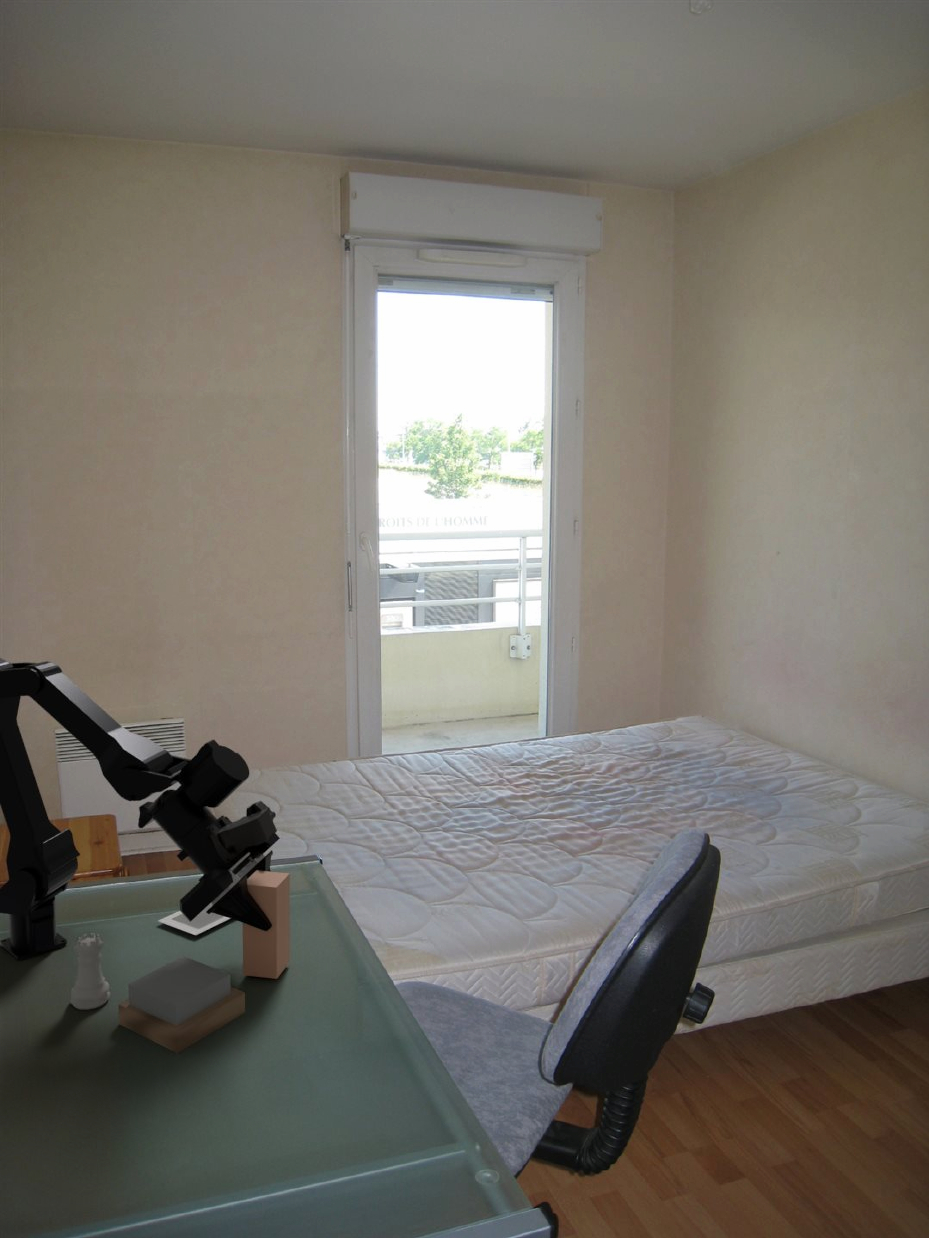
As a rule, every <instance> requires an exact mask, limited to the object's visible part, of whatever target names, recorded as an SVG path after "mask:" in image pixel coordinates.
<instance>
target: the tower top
mask: <svg viewBox="0 0 929 1238" xmlns="http://www.w3.org/2000/svg"><path fill="white" fill-rule="evenodd" d="M230 987H231V974H230V973H227V972H225V971H223V970H221V969H218V968H216V967H213V966H211V965H208V964H205V963H203V962H199V961H197V960H194V959H193V958H189V957H187V956H185V955H182V956H180V957H179V958H178V957H177V958H176V959H174V960H172V961H171V962H169V963H167V964H165V965H163V966H160V967H159V968H157V969H155V970H153V971H151V972H149V973H148V974H145V975H144V976H141V977H139V978H137V979H136V980H133V981H132V982H129V983H128V987H127V988H128V989H127V990H128V999H129V1005H131V1006H133V1007H135V1008H137V1009H140V1010H142V1011H144V1012H146V1013H148V1014H151V1015H153V1016H155V1017H157V1018H159V1019H162V1020H164V1021H166V1022H168V1023H171V1024H173V1025H175V1026H178V1025H180V1024H181V1023H183V1022H185V1021H186V1020H188V1019H190V1018H191V1017H193V1016H195V1015H197V1014H198V1013H200V1012H202V1011H203V1010H205V1009H207V1008H208V1007H210V1006H212V1005H213V1004H215V1003H217V1002H219V1001H220V1000H222V999H224V998H225V997H227V996H229V995H230V994H231V991H230Z"/></svg>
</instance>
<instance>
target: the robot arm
mask: <svg viewBox="0 0 929 1238" xmlns="http://www.w3.org/2000/svg"><path fill="white" fill-rule="evenodd" d="M21 697H29V698H30V699H31V700H33V701H34V702H35V703H36V704H37V705H38V706H39V707H41V708H42V710H44V711H45V712H46V713H47V714H48V715H49V716H51V718H53V719H54V720H55V721H56V722H57V723H58V724H59V725H60V726H62V727H63V728H64V729H65V730H66V731H67V732H68V733H69V734H70V735H72V737H74V738H75V739H76V740H77V741H78V742H79V743H80V744H82V745H83V747H85V748H86V749H87V750H88V751H89V752H90V753H91V754H92V755H93V757H94V758H95V759H96V761H98V764H99V766H100V770H101V774H102V776H103V778H105V780H106V781H107V782H108V784H109V785H110V786H111V787H112V789H113V790H114V792H115V793H116V794H117V795H118V796H119V797H120V798H122V800H123V799H124V800H125V801H128V802H139V801H140V802H141V801H143V800H145V799H147V798H149V797H150V796H151V797H152V796H153V795H154V794H156V793H161V794H160V795H159V796H158V797H157V798H155V800H154V801H147V802H144V803H143V804H142V805H140V806H139V807H138V811H139V817H138V823H137V827H138V828H139V829H144V828H145V827H146V826H148V825H149V824H151V823H153V822H155V823H156V824H157V825H158V826H159V827H160V828H161V829H162V830H163V832H164V833H165V834H166V835H167V836H168V837H169V838H170V840H171V841H172V842H173V843H174V844H175V845H176V846H177V848H179V849H180V852H179V853H178V854H177V855H176V857H177V858H178V859H179V860H180V861H181V862H183V861H184V860H186V859H188V860H190V861H191V863H192V864H193V865H194V866H195V867H196V869H198V870H199V872H200V873H201V874H202V876H201V877H200V878H199V879H198V881H199V882H197V884H196V885H194V886H193V887H192V888H191V889H190V890H189V891H188V892H186V894H185V895H184V896H182V898H180V900H179V911H181V912H182V913H183V915H184V916H185V917H186V918H187V919H188V920H189V921H190V922H191V921H192V920H193V919H194V918H195V917H196V916H197V915H198V914H199V913H200V912H202V911H203V910H204V909H205V908H206V907H207V906H208V905H209V904H210V903H212V905H213V906H212V907H210V908H209V909H208V910H207V911H206V913H207V914H210V913H215V914H218V915H221V916H225V917H228V918H230V919H232V920H234V921H237V922H240V923H242V924H243V923H245V924H248V925H250V926H253V927H255V928H258V929H261V930H263V931H268V930H269V929H270V928H271V927H272V924H271V922H270V920H269V919H268V917H267V916H266V914H265V913H264V912H263V910H262V909H261V908H260V907H259V905H258V904H257V903H256V901H255V900H254V899H253V897H252V896H251V895H250V893H249V892H248V887H247V879H248V878H249V877H250V876H251V875H252V874H253V873H254V872H255V871H256V870H259V871H269V872H272V871H271V862H272V861H271V860H272V856H273V854H274V851H273V850H272V849H271V850H270V851H268V850H269V849H270V848H272V846H274V844H276V843H277V842H278V841H279V840H280V839H281V837H279V835H278V834H276V833H277V832H278V829H277V827H276V825H275V822H274V819H275V817H276V815H277V813H276V812H275V811H273V810H271V808H270V806H268V805H266V804H265V803H264V802H263V801H262V800H259V801H257V802H254V803H251V805H249V806H248V807H247V808H246V810H245V811H246V814H245V816H242V817H241V818H240V819H237V820H235V821H232V820H230V818H229V817H228V816H226V815H221V816H220V817H219V818H217V817H216V816H215V814H213V813H212V811H211V810H209V808H210V809H211V808H212V809H214V808H218V807H219V806H220V805H221V804H223V803H224V802H225V801H226V799H228V798H229V797H230V796H231V795H232V794H233V793H234V792H235V791H236V790H238V788H240V787H241V785H242V784H244V783H245V782H246V781H247V779H248V778H249V777H250V774H251V773H250V768H249V766H248V764H247V762H246V760H245V759H244V758H243V756H242V755H241V754H240V753H239V752H235V751H234V750H233V749H231V748H229V747H227V746H224V745H220V744H219V743H218V742H217V741H216V739H210V740H208V741H207V742H205V743H204V744H203V745H202V746H201V747H200V748H199V750H198V752H197V753H196V754H195V755H194V756H193V757H192V758H186V757H180V756H178V755H173V754H171V753H170V752H169V751H168V750H166V749H165V748H164V747H162V746H161V745H159V744H158V743H156V742H154V741H153V740H151V739H150V738H148V737H145V736H142V735H140V734H137V733H134V732H131V731H129V730H127V729H126V728H125V727H123V726H122V725H121V724H120V723H119V722H118V721H116V720H115V719H114V718H113V717H112V716H110V714H109V713H107V712H106V711H105V710H104V709H103V708H102V707H101V706H100V705H99V704H97V703H96V702H95V701H94V700H93V699H92V698H91V697H89V695H88V694H86V692H85V691H84V690H82V689H81V688H79V686H78V685H77V684H76V683H74V681H72V680H71V679H70V678H69V677H68V676H67V675H65V674H64V673H63V670H62V668H61V667H60V666H59V665H58V664H56V663H55V662H52V661H49V660H48V661H47V660H46V661H42V662H41V661H40V662H29V661H26V662H8V661H7V660H6V659H3V658H1V657H0V809H1V811H2V814H3V817H4V821H5V824H6V828H7V830H8V833H9V842H8V847H7V853H6V858H5V865H6V871H7V877H8V880H7V881H6V882H5V883H4V884H3V885H2V886H1V887H0V914H5V915H8V923H9V925H8V931H9V937H6V938H4V939H2V940H0V946H1V947H2V948H3V949H4V950H6V951H7V952H8V953H9V954H10V955H12V956H13V957H14V959H16V960H19V961H21V960H24V959H27V958H30V957H33V956H36V955H39V954H42V953H46V952H48V951H51V950H54V949H56V948H60V947H63V946H66V945H67V944H68V940H67V938H66V937H63V935H61V934H59V933H58V932H57V911H56V909H57V908H56V896H58V895H59V894H61V893H63V892H65V891H66V890H67V889H68V888H67V887H68V885H69V883H70V881H71V880H72V879H73V878H74V877H75V874H76V872H77V870H78V869H79V862H78V858H79V857H80V856H81V853H80V851H79V850H78V849H77V848H76V845H75V842H74V837H73V832H72V830H71V829H70V828H66V829H64V830H62V831H61V830H60V829H59V828H57V827H56V826H55V825H54V824H53V823H52V822H51V821H50V818H49V816H48V813H47V812H48V811H47V810H46V807H45V803H44V800H43V797H42V794H41V792H40V788H39V786H38V785H39V784H38V782H37V779H36V776H35V773H34V769H33V767H32V763H31V761H30V758H29V755H28V752H27V749H26V745H25V742H24V739H23V736H22V732H21V730H20V726H19V724H18V714H19V709H20V702H21ZM177 783H178V784H179V785H180V786H179V787H177V788H176V789H169V788H170V787H172V786H174V785H175V784H177ZM267 851H268V853H267V854H266V855H265V853H266V852H267Z"/></svg>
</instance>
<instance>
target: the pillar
mask: <svg viewBox="0 0 929 1238" xmlns="http://www.w3.org/2000/svg"><path fill="white" fill-rule="evenodd" d="M290 876H291V875H290V872H288V873H287V872H277V871H271V872H269V871H259V870H256V871H255V872H254V873H253V874H252V875H251V876H250V877H249V878H248V879H247V887H248V892H249V893H250V895H251V896H252V897H253V899H254V900H255V901H256V903H257V904H258V905H259V907H260V908H261V909H262V910H263V912H264V913H265V914H266V916H267V917H268V919H269V920H270V922H271V924H272V927H271V928H270V929H269V930H268V931H263V930H261V929H258V928H255V927H253V926H250V925H248V924H245V923H242V975H243V976H250V977H257V978H266V979H275V980H277V979H278V978H279V977H280V975H281V974H282V973H283V971H284V970H285V969H286V967H287V966H288V965H289V963H290V961H291V957H290V956H291V954H290V953H291V950H290V949H291V944H290V943H291V934H290V933H291V932H290V931H291V930H290V929H291V928H290V927H291V925H290V924H291V923H290V922H291V921H290V916H291V914H290V912H291V909H290V908H291V905H290V902H291V901H290V900H291V899H290V897H291V896H290V895H291V893H290V892H291V891H290V887H291V886H290V882H291V881H290V880H291V879H290V878H291V877H290Z"/></svg>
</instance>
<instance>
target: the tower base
mask: <svg viewBox="0 0 929 1238" xmlns="http://www.w3.org/2000/svg"><path fill="white" fill-rule="evenodd" d="M230 991H231V994H230V995H229V996H227V997H225V998H224V999H222V1000H220V1001H219V1002H217V1003H215V1004H213V1005H212V1006H210V1007H208V1008H207V1009H205V1010H203V1011H202V1012H200V1013H198V1014H197V1015H195V1016H193V1017H191V1018H190V1019H188V1020H186V1021H185V1022H183V1023H181V1024H180V1025H178V1026H175V1025H173V1024H171V1023H168V1022H166V1021H164V1020H162V1019H159V1018H157V1017H155V1016H153V1015H151V1014H148V1013H146V1012H144V1011H142V1010H140V1009H137V1008H135V1007H133V1006H131V1005H129V998H128V999H125V1000H123V1001H122V1002H120V1003H118V1024H119V1025H120V1026H122V1027H124V1028H126V1029H129V1030H130V1031H132V1032H134V1033H136V1034H138V1035H141V1036H142V1037H144V1038H146V1039H147V1040H150V1041H152V1042H154V1043H156V1044H158V1045H160V1046H162V1047H164V1048H166V1049H167V1050H170V1051H172V1052H173V1053H176V1054H179V1053H181V1052H182V1051H183V1050H185V1049H186V1048H188V1047H190V1046H192V1045H194V1044H195V1043H197V1042H198V1041H200V1040H202V1039H203V1038H206V1036H209V1035H210V1034H212V1033H213V1032H215V1031H217V1030H218V1029H220V1028H222V1027H223V1026H226V1024H229V1023H230V1022H232V1021H234V1020H235V1019H237V1018H239V1017H241V1016H242V1015H244V1014H246V992H244V991H242V990H239V989H237V988H235V987H233V986H230Z"/></svg>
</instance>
